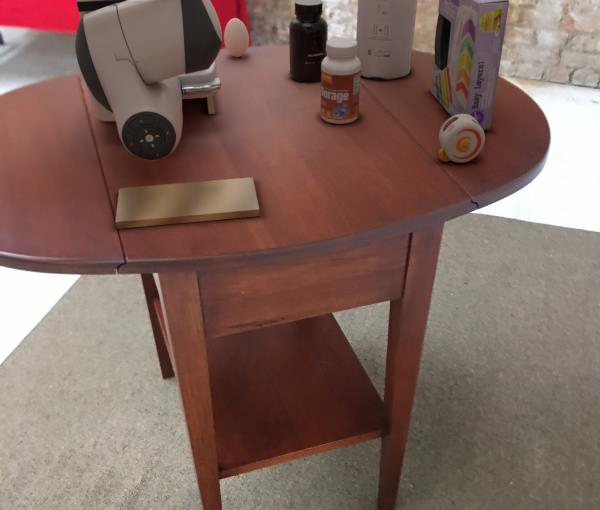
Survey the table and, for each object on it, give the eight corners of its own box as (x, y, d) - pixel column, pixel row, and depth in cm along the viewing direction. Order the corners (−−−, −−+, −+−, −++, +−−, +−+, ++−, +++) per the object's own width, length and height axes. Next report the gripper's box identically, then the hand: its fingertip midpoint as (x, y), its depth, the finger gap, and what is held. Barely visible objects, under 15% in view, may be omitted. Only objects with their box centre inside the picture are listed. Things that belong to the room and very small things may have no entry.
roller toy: (484, 164, 90) (492, 123, 86) (440, 167, 90) (446, 126, 85) (475, 151, 93) (482, 110, 89) (432, 153, 93) (438, 113, 89)
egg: (253, 53, 126) (251, 15, 122) (244, 61, 123) (241, 22, 118) (231, 51, 127) (228, 13, 123) (221, 59, 124) (218, 20, 120)
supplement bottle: (315, 85, 113) (315, 8, 105) (283, 79, 116) (280, 4, 107) (333, 73, 117) (335, -1, 109) (301, 67, 120) (300, -6, 111)
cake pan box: (426, 90, 111) (440, -30, 98) (454, 88, 111) (471, -32, 98) (459, 135, 97) (480, 2, 85) (491, 132, 98) (516, 0, 85)
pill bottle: (314, 121, 102) (313, 45, 94) (330, 107, 106) (331, 34, 98) (349, 127, 100) (352, 50, 92) (364, 113, 104) (368, 38, 96)
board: (116, 229, 79) (114, 221, 78) (120, 195, 85) (119, 188, 85) (259, 216, 81) (259, 209, 80) (253, 183, 87) (252, 177, 86)
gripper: (219, 66, 92) (214, 38, 102) (76, 76, 90) (85, 46, 100) (224, 111, 97) (219, 79, 106) (87, 121, 95) (95, 88, 104)
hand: (153, 63), depth 103 cm, fingers closed on ink box, 5 cm apart
